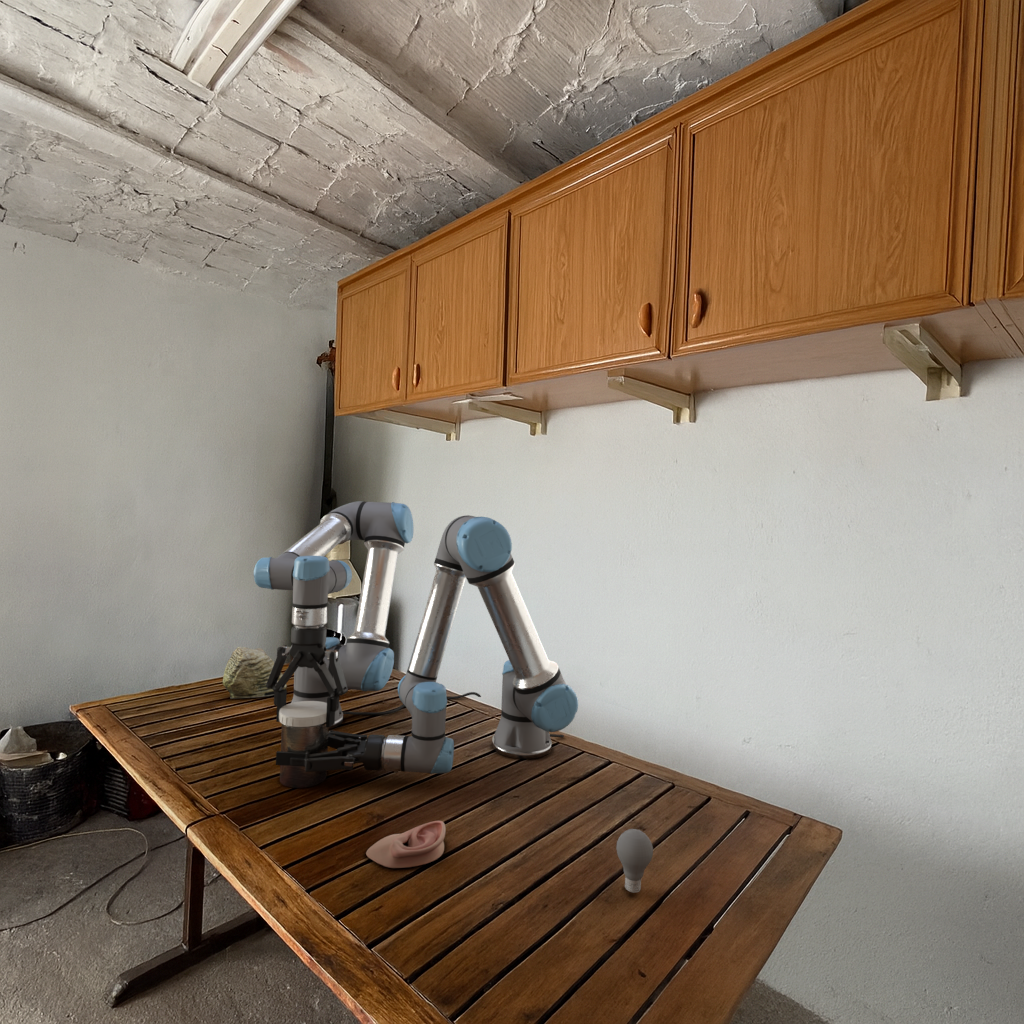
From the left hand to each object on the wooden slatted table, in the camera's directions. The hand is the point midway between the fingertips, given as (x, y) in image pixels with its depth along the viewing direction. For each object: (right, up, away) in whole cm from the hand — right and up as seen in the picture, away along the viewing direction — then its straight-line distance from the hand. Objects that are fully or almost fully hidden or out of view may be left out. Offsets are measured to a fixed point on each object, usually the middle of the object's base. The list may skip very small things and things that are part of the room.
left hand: (305, 722), depth 142 cm
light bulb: (+66, -16, -36) cm, 77 cm away
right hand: (-5, -6, 0) cm, 7 cm away
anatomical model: (+27, -14, -28) cm, 41 cm away
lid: (0, +3, 0) cm, 3 cm away
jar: (-1, -12, 0) cm, 13 cm away
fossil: (-34, -10, +56) cm, 66 cm away
